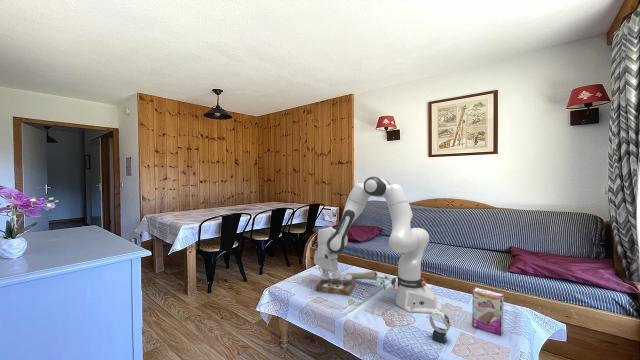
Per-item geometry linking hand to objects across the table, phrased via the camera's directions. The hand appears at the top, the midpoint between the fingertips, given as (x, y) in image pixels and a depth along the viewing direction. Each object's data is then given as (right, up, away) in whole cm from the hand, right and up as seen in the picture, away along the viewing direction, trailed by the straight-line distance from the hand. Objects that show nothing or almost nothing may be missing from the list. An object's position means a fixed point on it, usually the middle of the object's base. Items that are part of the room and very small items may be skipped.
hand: (325, 275), depth 171 cm
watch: (+46, -8, -55) cm, 72 cm away
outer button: (0, -2, 0) cm, 2 cm away
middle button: (+7, -1, -2) cm, 7 cm away
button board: (+6, -7, -4) cm, 10 cm away
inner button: (+13, -1, -5) cm, 14 cm away
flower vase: (+29, -7, -1) cm, 29 cm away
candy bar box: (+70, -8, -48) cm, 85 cm away
